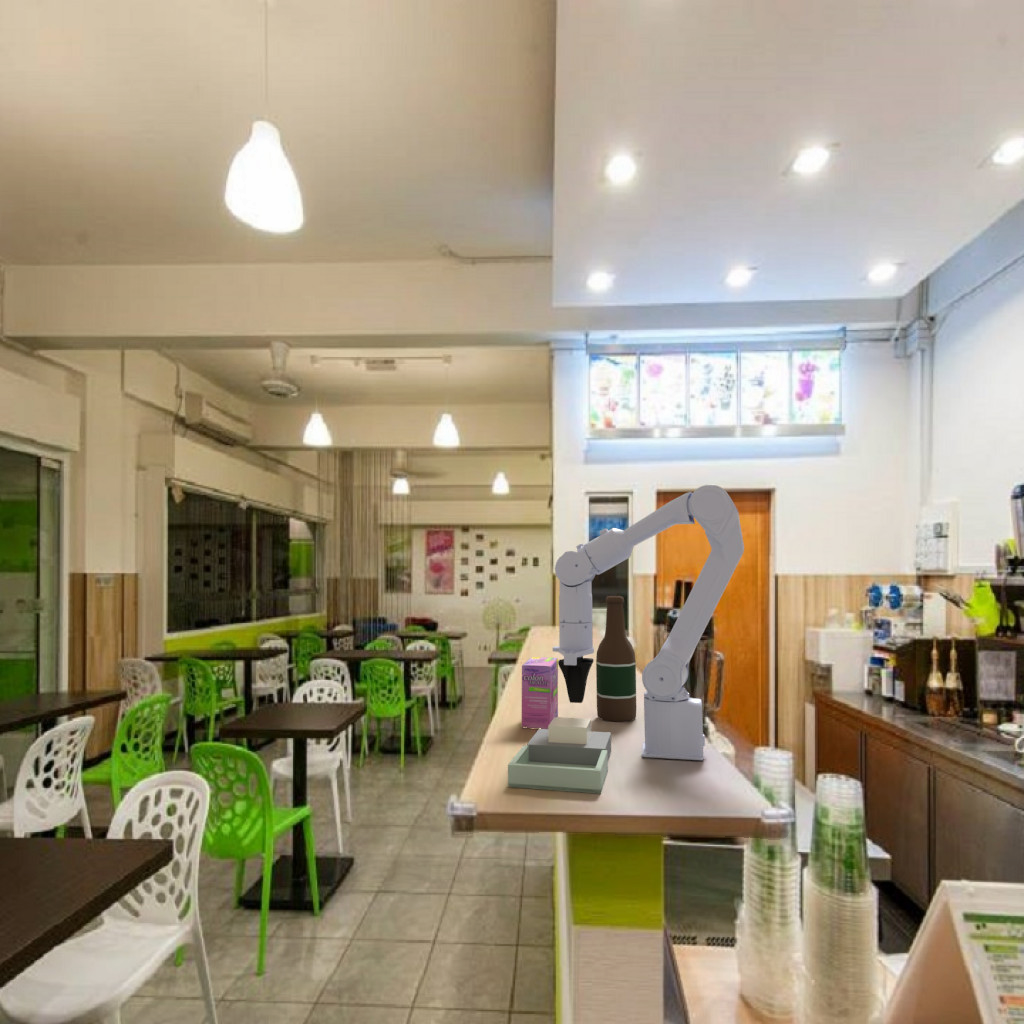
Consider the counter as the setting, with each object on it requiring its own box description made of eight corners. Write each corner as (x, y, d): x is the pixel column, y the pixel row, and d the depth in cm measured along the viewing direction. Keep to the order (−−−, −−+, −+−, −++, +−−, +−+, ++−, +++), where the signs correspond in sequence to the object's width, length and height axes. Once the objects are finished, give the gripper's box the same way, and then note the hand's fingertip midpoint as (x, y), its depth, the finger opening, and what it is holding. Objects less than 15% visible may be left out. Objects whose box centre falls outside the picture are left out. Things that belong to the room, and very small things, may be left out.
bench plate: (611, 751, 112) (610, 732, 112) (605, 769, 102) (605, 748, 102) (539, 746, 115) (539, 728, 115) (527, 764, 105) (526, 744, 105)
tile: (591, 734, 111) (591, 718, 111) (586, 744, 105) (586, 727, 105) (554, 732, 112) (554, 717, 112) (548, 742, 106) (548, 725, 107)
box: (551, 730, 126) (550, 665, 127) (521, 728, 127) (520, 664, 128) (559, 717, 136) (558, 657, 137) (530, 716, 138) (530, 656, 138)
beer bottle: (636, 714, 139) (634, 595, 140) (636, 723, 131) (634, 597, 133) (597, 712, 140) (596, 595, 142) (595, 721, 132) (594, 597, 134)
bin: (608, 769, 102) (607, 749, 102) (600, 793, 92) (600, 770, 92) (524, 764, 105) (524, 744, 105) (508, 786, 95) (508, 764, 95)
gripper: (559, 617, 126) (560, 692, 125) (545, 625, 112) (545, 709, 111) (598, 618, 124) (598, 694, 123) (588, 626, 110) (589, 712, 109)
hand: (576, 702), depth 117 cm, fingers closed
